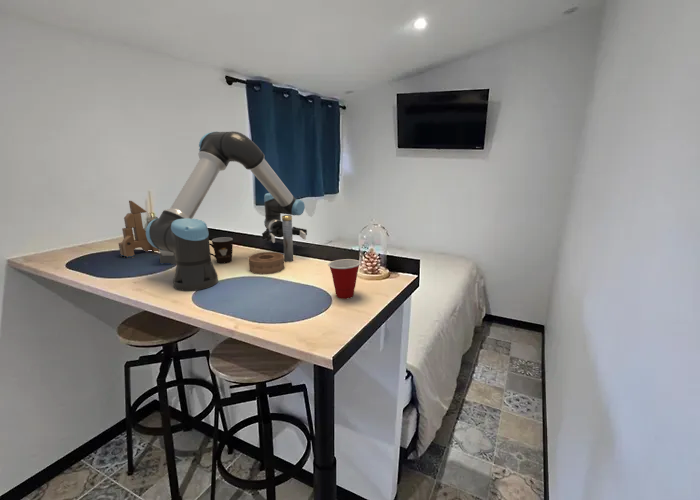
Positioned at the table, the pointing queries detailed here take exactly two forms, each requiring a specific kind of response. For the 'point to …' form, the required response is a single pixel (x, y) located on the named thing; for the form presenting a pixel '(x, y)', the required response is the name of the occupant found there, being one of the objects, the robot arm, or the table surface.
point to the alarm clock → (167, 257)
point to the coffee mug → (222, 249)
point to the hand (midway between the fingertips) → (289, 238)
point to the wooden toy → (134, 222)
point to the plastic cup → (344, 276)
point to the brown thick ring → (266, 263)
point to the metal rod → (287, 238)
